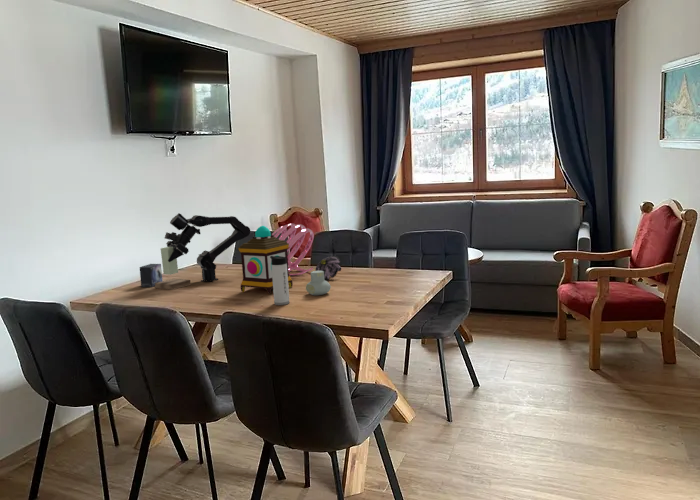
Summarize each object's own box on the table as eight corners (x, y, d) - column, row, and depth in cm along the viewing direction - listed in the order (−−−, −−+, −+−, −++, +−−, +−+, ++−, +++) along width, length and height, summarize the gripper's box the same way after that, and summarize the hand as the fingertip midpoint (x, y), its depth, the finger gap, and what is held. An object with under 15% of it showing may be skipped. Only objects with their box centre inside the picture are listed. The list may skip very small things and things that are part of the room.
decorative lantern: (269, 296, 247) (264, 228, 242) (236, 292, 257) (231, 228, 253) (297, 286, 263) (292, 223, 259) (264, 284, 274) (260, 223, 270)
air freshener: (304, 293, 247) (302, 271, 246) (319, 290, 252) (318, 268, 251) (317, 297, 239) (316, 274, 237) (333, 294, 243) (332, 271, 242)
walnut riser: (190, 284, 282) (190, 279, 282) (172, 289, 272) (171, 284, 271) (174, 283, 288) (173, 278, 288) (155, 288, 278) (155, 283, 278)
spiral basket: (336, 234, 294) (296, 206, 301) (306, 255, 273) (264, 225, 279) (320, 272, 311) (282, 245, 317) (290, 295, 289) (251, 265, 296)
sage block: (178, 272, 280) (175, 246, 278) (170, 274, 275) (167, 248, 273) (171, 272, 282) (168, 246, 280) (163, 274, 278) (160, 248, 276)
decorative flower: (305, 259, 281) (332, 248, 285) (311, 278, 287) (336, 267, 291) (317, 271, 269) (344, 259, 274) (322, 290, 275) (349, 278, 279)
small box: (152, 287, 280) (150, 267, 279) (140, 287, 282) (138, 267, 280) (163, 283, 290) (161, 263, 289) (152, 283, 292) (150, 263, 290)
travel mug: (273, 302, 234) (270, 255, 231) (289, 301, 234) (286, 254, 231) (273, 305, 228) (269, 257, 225) (289, 304, 228) (285, 256, 225)
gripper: (168, 225, 285) (148, 249, 281) (179, 227, 270) (158, 252, 265) (185, 238, 291) (166, 262, 286) (197, 241, 275) (177, 266, 271)
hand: (166, 260), depth 277 cm, fingers closed on sage block, 6 cm apart
